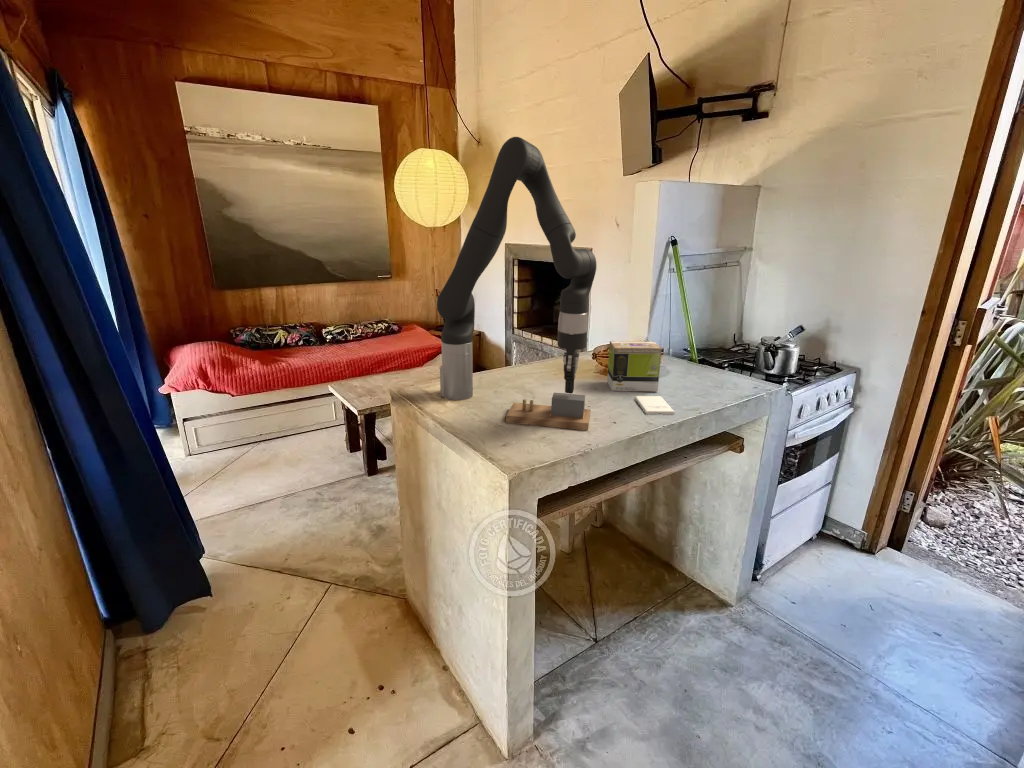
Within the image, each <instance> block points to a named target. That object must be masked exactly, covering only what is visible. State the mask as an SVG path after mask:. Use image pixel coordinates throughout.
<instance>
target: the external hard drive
mask: <svg viewBox="0 0 1024 768" xmlns="http://www.w3.org/2000/svg"><path fill="white" fill-rule="evenodd" d="M634 400H635V402H636V401H637V402H638V403H637V402H636V403H637V404H638V406H639V405H640V406H641V407H640V406H639V407H640V408H641V410H642V409H643V410H644V411H643V410H642V411H643V412H644V414H645V413H646V414H663V416H665V415H668V416H669V415H671V416H675V410H674V409H673V408H672V407H671V406H670V405H669V404H668V402H667V401H666V400H665V399H664V398H663V397H662V396H660V395H637V396H634ZM646 414H645V415H646Z"/></svg>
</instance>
